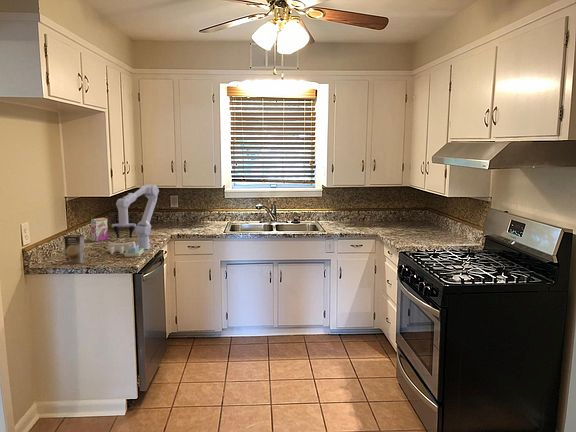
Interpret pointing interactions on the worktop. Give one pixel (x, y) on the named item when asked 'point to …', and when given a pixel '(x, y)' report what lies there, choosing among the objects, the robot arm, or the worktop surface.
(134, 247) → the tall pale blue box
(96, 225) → the candy bar box
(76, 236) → the coffee box
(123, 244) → the stand
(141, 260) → the worktop surface
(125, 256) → the tray
